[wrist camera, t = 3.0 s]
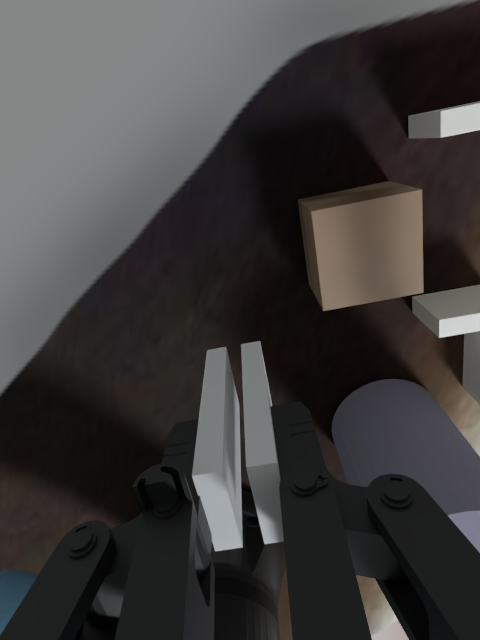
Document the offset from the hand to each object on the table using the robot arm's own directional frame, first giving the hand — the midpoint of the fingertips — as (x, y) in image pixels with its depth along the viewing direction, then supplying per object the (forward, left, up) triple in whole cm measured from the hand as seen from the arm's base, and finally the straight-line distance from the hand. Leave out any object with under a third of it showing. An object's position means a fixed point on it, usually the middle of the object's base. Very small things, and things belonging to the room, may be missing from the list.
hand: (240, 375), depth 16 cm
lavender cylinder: (+11, -19, -19) cm, 29 cm away
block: (+9, 0, -19) cm, 21 cm away
